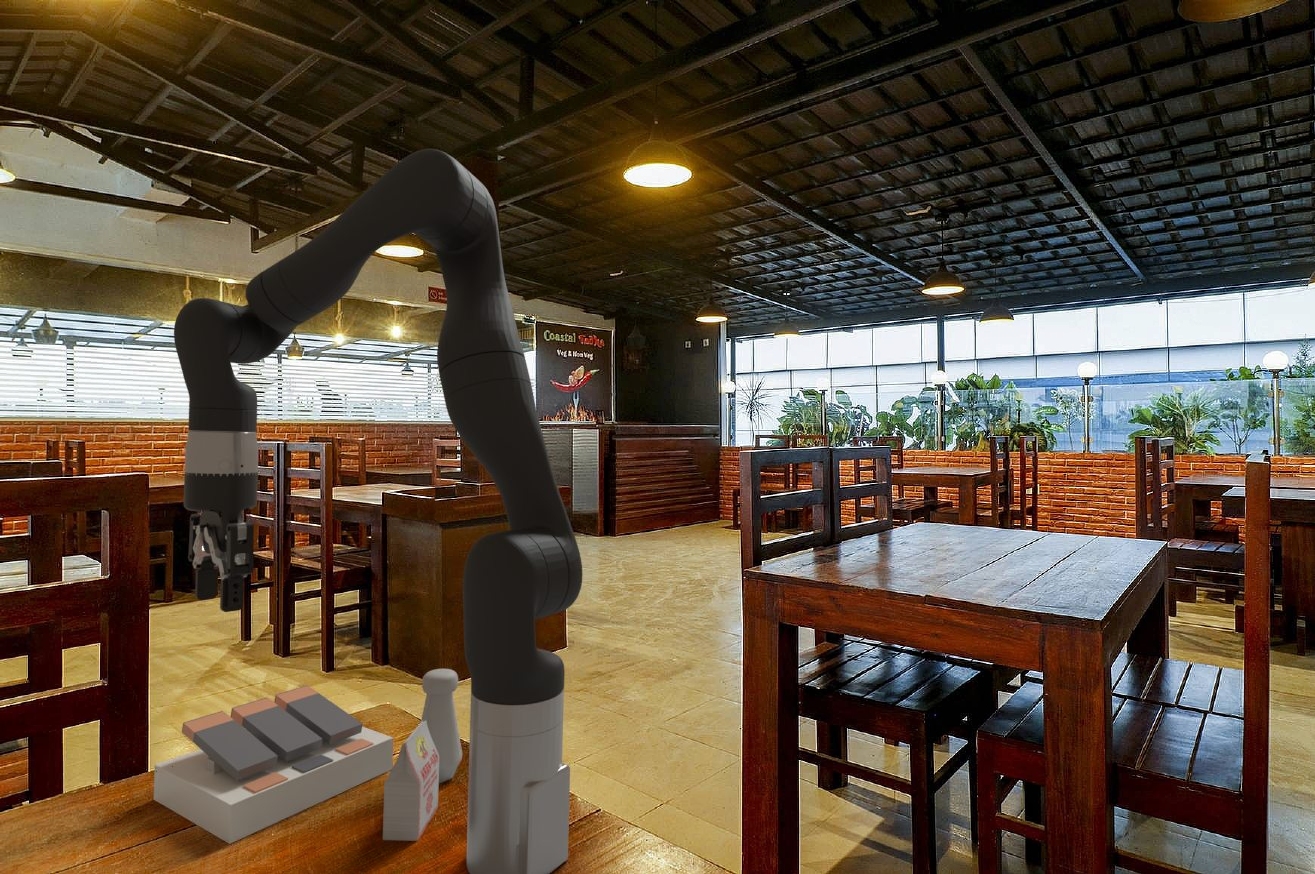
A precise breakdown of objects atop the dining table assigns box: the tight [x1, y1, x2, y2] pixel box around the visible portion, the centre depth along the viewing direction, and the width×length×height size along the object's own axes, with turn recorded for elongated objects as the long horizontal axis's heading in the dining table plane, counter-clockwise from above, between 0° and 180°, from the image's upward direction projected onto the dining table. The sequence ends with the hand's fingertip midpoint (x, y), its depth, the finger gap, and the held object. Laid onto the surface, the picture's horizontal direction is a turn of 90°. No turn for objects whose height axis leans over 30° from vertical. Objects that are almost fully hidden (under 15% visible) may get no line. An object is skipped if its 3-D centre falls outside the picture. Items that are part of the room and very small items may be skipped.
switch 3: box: [273, 684, 363, 745], centre depth 91 cm, size 12×4×1 cm, turn 59°
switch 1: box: [181, 710, 278, 781], centre depth 82 cm, size 12×4×1 cm, turn 59°
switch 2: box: [230, 697, 323, 762], centre depth 86 cm, size 12×4×1 cm, turn 59°
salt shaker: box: [420, 668, 463, 784], centre depth 89 cm, size 6×6×13 cm
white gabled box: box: [382, 720, 440, 842], centre depth 78 cm, size 4×7×10 cm, turn 0°
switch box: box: [153, 726, 394, 845], centre depth 86 cm, size 16×20×5 cm
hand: (218, 604), depth 85 cm, fingers open, 8 cm apart
